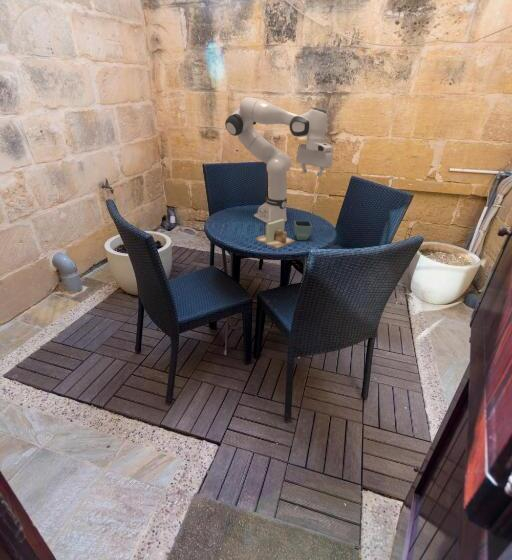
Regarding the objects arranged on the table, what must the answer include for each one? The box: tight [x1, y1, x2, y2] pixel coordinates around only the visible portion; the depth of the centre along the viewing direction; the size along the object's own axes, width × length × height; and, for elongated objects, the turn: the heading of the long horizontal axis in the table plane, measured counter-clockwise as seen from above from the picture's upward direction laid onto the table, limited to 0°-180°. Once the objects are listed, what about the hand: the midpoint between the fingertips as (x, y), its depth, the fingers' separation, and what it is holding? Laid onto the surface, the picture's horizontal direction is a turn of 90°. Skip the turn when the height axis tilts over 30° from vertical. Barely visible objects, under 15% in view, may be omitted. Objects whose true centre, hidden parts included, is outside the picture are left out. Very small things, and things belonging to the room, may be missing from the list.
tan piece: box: [255, 224, 295, 250], centre depth 171 cm, size 16×14×7 cm
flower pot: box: [293, 220, 313, 241], centre depth 175 cm, size 9×9×9 cm
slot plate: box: [265, 219, 286, 243], centre depth 170 cm, size 2×12×10 cm, turn 134°
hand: (311, 174), depth 164 cm, fingers open, 8 cm apart
